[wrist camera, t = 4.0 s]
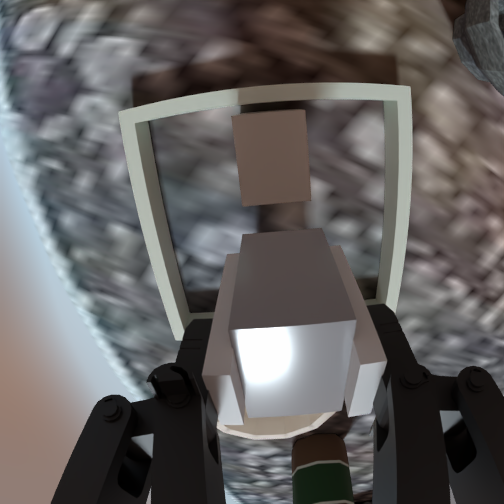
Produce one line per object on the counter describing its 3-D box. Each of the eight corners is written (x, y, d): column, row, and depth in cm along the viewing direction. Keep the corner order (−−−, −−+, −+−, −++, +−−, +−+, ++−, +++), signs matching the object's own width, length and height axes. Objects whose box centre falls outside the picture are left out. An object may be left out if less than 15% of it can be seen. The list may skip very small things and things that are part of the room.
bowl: (188, 326, 27) (177, 362, 23) (335, 316, 26) (345, 353, 22) (215, 407, 32) (210, 439, 28) (327, 401, 31) (332, 433, 27)
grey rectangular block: (242, 234, 13) (228, 330, 8) (321, 228, 13) (356, 319, 8) (253, 316, 15) (248, 417, 10) (321, 310, 15) (341, 410, 10)
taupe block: (240, 113, 18) (231, 116, 13) (292, 108, 18) (305, 109, 13) (248, 178, 21) (242, 206, 15) (298, 174, 20) (311, 200, 15)
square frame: (133, 110, 18) (118, 111, 16) (395, 87, 17) (410, 86, 15) (181, 322, 26) (175, 340, 24) (384, 306, 25) (393, 323, 23)
